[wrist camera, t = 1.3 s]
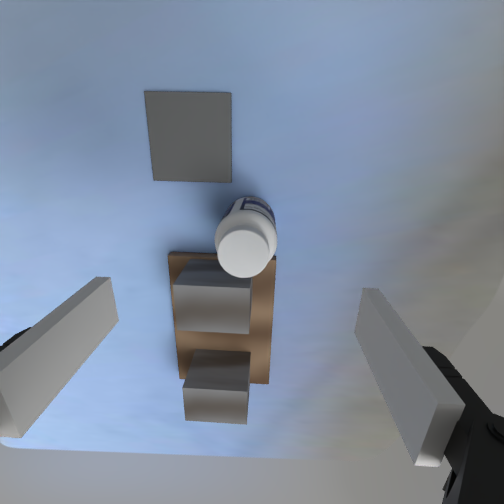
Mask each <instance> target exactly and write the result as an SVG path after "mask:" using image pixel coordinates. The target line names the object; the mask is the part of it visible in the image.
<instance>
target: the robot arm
mask: <svg viewBox="0 0 504 504" xmlns="http://www.w3.org/2000/svg"><path fill="white" fill-rule="evenodd" d="M118 321H119V319H118V314H117V309H116V304H115V299H114V294H113V289H112V283H111V278H110V277H95V278H94V279H93V280H91V281H90V282H89V283H88V284H86V285H85V286H84V287H82V288H81V289H80V290H79V291H77V292H76V293H75V294H74V295H72V296H71V297H70V298H68V299H67V300H66V301H65V302H63V303H62V304H61V305H60V306H58V307H57V308H56V309H54V310H53V311H52V312H51V313H49V314H48V315H47V316H46V317H44V318H43V319H42V320H40V321H39V322H38V323H37V324H35V325H34V326H33V327H29V328H27V329H25V330H23V331H21V332H19V333H17V334H15V335H14V336H13V337H11V338H10V339H9V340H7V341H6V342H5V343H3V346H0V437H12V438H22V437H23V435H24V434H25V433H26V432H27V431H28V429H29V428H30V427H31V426H32V425H33V423H34V422H35V421H36V420H37V419H38V417H39V416H40V415H41V414H42V413H43V411H44V410H45V409H46V408H47V407H48V405H49V404H50V403H51V402H52V401H53V399H54V398H55V397H56V396H57V395H58V393H59V392H60V391H61V390H62V389H63V387H64V386H65V385H66V384H67V382H68V381H69V380H70V379H71V378H72V376H73V375H74V374H75V373H76V372H77V370H78V369H79V368H80V367H81V366H82V364H83V363H84V362H85V361H86V360H87V358H88V357H89V356H90V355H91V354H92V352H93V351H94V350H95V349H96V348H97V346H98V345H99V344H100V343H101V342H102V340H103V339H104V338H105V337H106V336H107V334H108V333H109V332H110V331H111V330H112V328H113V327H114V326H115V325H116V324H117V322H118ZM354 333H355V335H356V337H357V339H358V341H359V344H360V346H361V348H362V350H363V352H364V355H365V357H366V359H367V361H368V364H369V366H370V368H371V370H372V372H373V375H374V377H375V379H376V381H377V383H378V386H379V388H380V390H381V392H382V394H383V397H384V399H385V401H386V403H387V406H388V408H389V410H390V412H391V414H392V417H393V419H394V421H395V423H396V425H397V428H398V430H399V432H400V434H401V436H402V439H403V441H404V443H405V445H406V448H407V450H408V452H409V454H410V456H411V458H412V461H413V463H414V465H417V466H432V467H439V466H440V464H441V461H442V459H443V457H444V455H445V456H446V458H447V460H448V461H449V463H450V465H451V467H452V470H451V472H450V474H449V476H448V478H447V481H446V483H445V485H444V487H443V490H444V491H445V494H444V498H443V502H442V504H504V417H501V416H498V415H496V414H493V413H492V412H491V411H490V410H489V409H488V407H487V406H486V405H485V404H484V402H483V401H482V400H481V399H480V398H479V397H478V395H477V394H476V393H475V392H474V390H473V389H472V388H471V387H470V386H469V384H468V383H467V382H466V381H465V379H462V376H461V375H460V373H459V372H458V371H457V370H456V369H455V367H454V366H453V365H452V364H451V363H450V361H449V360H448V359H447V358H446V356H444V355H443V354H442V353H440V352H439V351H438V350H436V349H435V348H433V347H425V346H421V345H420V343H419V342H418V341H417V339H416V338H415V337H414V335H413V334H412V333H411V331H410V330H409V329H408V327H407V326H406V325H405V323H404V322H403V321H402V319H401V318H400V317H399V315H398V314H397V313H396V311H395V310H394V309H393V307H392V306H391V305H390V303H389V302H388V301H387V299H386V298H385V297H384V295H383V294H382V293H381V291H380V290H379V289H376V288H363V291H362V296H361V301H360V306H359V312H358V317H357V322H356V327H355V332H354Z"/></svg>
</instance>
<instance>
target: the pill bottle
mask: <svg viewBox="0 0 504 504" xmlns="http://www.w3.org/2000/svg"><path fill="white" fill-rule="evenodd" d="M215 247H216V251H217V256H218V260H219V263H220V265H221V266H222V267H223V269H224V270H225V271H226V272H228V273H229V274H231V275H233V276H236V277H240V278H248V277H252V276H255V275H257V274H259V273H260V272H261V271H262V270H263V269H264V268H265V267H266V265H267V263H268V262H269V261H270V260H271V258H272V257H273V255H274V253H275V251H276V247H277V233H276V224H275V217H274V213H273V211H272V209H271V207H270V206H269V205H268V204H267V203H266V202H265V201H263V200H262V199H259V198H257V197H243V198H240V199H238V200H236V201H235V202H233V203H232V204H231V205H230V206H229V208H228V209H227V211H226V213H225V215H224V216H223V218H222V220H221V222H220V223H219V225H218V227H217V230H216V233H215Z"/></svg>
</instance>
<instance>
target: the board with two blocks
mask: <svg viewBox="0 0 504 504" xmlns="http://www.w3.org/2000/svg"><path fill="white" fill-rule="evenodd" d="M168 264H169V275H170V285H171V295H172V306H173V316H174V326H175V336H176V347H177V357H178V367H179V377H180V379H185V382H184V385H183V388H182V389H183V399H184V410H185V420H187V421H202V422H217V423H231V424H246V425H247V414H248V401H249V387H250V383H256V384H269V370H270V354H271V337H272V321H273V305H274V289H275V273H276V256H273V257H272V258H271V260H270V261H269V262H268V263H267V265H266V267H265V268H264V269H263V270H262V271H261V272H260V273H259V274H257V275H255V276H252V277H248V278H240V277H236V276H233V275H231V274H229V273H228V272H226V271H225V270H224V269H223V267H222V266H221V265H220V263H219V260H218V256H217V254H214V253H190V252H170V254H169V255H168Z"/></svg>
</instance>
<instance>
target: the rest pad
mask: <svg viewBox="0 0 504 504" xmlns="http://www.w3.org/2000/svg"><path fill="white" fill-rule="evenodd" d="M144 94H145V103H146V113H147V122H148V131H149V141H150V150H151V160H152V169H153V179H154V180H156V181H188V182H219V183H232V133H231V93H210V92H157V91H144Z"/></svg>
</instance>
